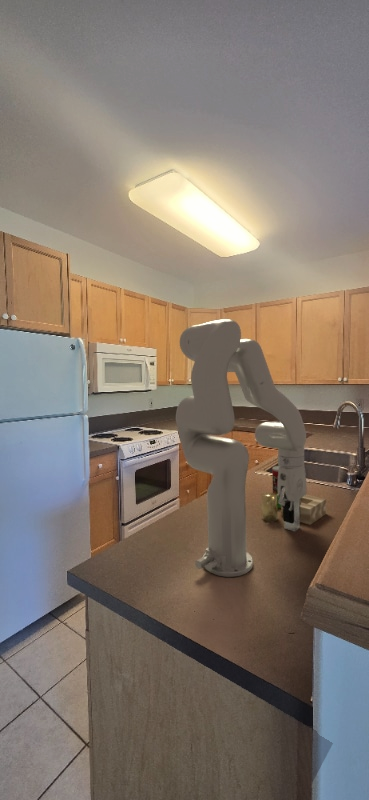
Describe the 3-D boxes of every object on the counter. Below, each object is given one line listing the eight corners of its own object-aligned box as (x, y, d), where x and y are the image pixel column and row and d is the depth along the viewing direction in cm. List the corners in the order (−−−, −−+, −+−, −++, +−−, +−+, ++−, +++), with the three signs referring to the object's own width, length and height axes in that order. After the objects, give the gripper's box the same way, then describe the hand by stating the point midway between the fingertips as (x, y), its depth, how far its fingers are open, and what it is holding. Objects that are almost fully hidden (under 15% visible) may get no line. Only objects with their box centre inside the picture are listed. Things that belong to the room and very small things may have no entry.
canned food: (269, 493, 134) (268, 466, 133) (286, 491, 136) (285, 464, 136) (279, 499, 127) (279, 471, 126) (297, 497, 129) (297, 469, 129)
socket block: (310, 524, 104) (309, 509, 104) (281, 516, 111) (281, 501, 111) (326, 513, 112) (326, 499, 112) (298, 506, 120) (298, 492, 119)
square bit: (294, 531, 100) (293, 498, 99) (284, 528, 102) (283, 496, 102) (299, 527, 102) (299, 495, 102) (289, 524, 104) (288, 493, 104)
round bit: (272, 522, 106) (271, 498, 106) (258, 518, 110) (258, 494, 110) (280, 518, 110) (279, 494, 109) (267, 514, 113) (266, 491, 113)
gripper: (288, 468, 93) (289, 532, 93) (315, 457, 104) (315, 515, 105) (265, 464, 98) (266, 525, 99) (292, 454, 109) (293, 509, 110)
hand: (291, 519), depth 102 cm, fingers closed on square bit, 3 cm apart
